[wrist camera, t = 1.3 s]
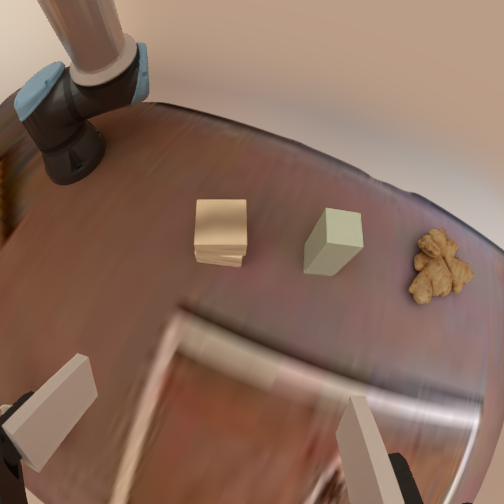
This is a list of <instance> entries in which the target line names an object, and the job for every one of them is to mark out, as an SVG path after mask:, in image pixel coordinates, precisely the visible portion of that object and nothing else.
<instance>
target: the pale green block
mask: <svg viewBox="0 0 504 504" xmlns="http://www.w3.org/2000/svg"><path fill="white" fill-rule="evenodd" d="M362 248H363V235H362V224H361V214H360V213H356V212H350V211H343V210H337V209H331V208H325V210H324V212H323V214H322V215H321V217H320V219H319V221H318V222H317V224H316V226H315V227H314V229H313V231H312V233H311V234H310V236H309V238H308V239H307V241H306V243H305V244H304V273H306V274H316V275H326V276H334V275H335V274H336V273H337V272H338V271H339V270H340V269H341V268H342V267H343V266H344V265H346V264H347V263H348V262H349V261H350V260H351V259H352V258H353V257H354V256H355V255H356V254H357V253H358V252H359V251H360V250H361V249H362Z"/></svg>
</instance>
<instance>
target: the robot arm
mask: <svg viewBox="0 0 504 504" xmlns="http://www.w3.org/2000/svg"><path fill="white" fill-rule="evenodd" d="M38 3H39V4H40V6H41V8H42V10H43V12H44V13H45V15H46V17H47V19H48V21H49V22H50V24H51V26H52V28H53V29H54V31H55V33H56V35H57V36H58V38H59V40H60V41H61V43H62V45H63V46H64V48H65V50H66V51H67V53H68V55H69V56H70V58H71V60H72V62H71V64H70V66H69V67H66V68H65V65H64V64H63V63H62V62H54V63H52V64H50V65H48V66H46V67H44V68H43V69H42V70H40V71H39V72H37V73H36V74H35V75H34V76H33V77H31V78H30V79H29V80H28V81H27V82H26V83H25V85H24V86H23V87H22V88H21V90H20V91H19V92H18V94H17V96H16V98H15V102H14V107H15V110H16V112H17V114H18V116H19V120H20V121H21V122H22V123H23V125H24V126H25V128H26V130H27V131H28V133H29V134H30V136H31V137H32V139H33V140H34V142H35V143H36V145H37V146H38V148H39V149H40V151H41V153H42V157H43V160H44V163H45V170H46V173H47V175H48V176H49V177H50V179H51V180H52V181H53V182H54V183H56V184H60V185H66V184H71V183H74V182H76V181H78V180H80V179H82V178H83V177H85V176H86V175H88V174H89V173H90V172H91V171H92V170H93V169H94V168H95V167H96V166H97V165H98V163H99V162H100V160H101V159H102V157H103V155H104V152H105V141H104V138H103V136H102V134H101V133H100V131H99V130H98V129H96V128H95V127H94V126H93V125H92V124H91V123H90V122H89V121H88V120H87V119H89V118H91V117H94V116H97V115H100V114H103V113H106V112H109V111H112V110H116V109H119V108H123V107H126V106H131V105H133V104H135V103H138V102H141V101H144V100H145V99H146V98H147V97H148V95H149V75H148V57H147V47H146V44H145V43H136V42H135V40H134V39H133V38H132V37H131V36H130V35H128V34H125V33H123V32H122V28H121V25H120V21H119V18H118V14H117V10H116V7H115V3H114V0H38ZM97 396H98V394H97V390H96V387H95V383H94V379H93V375H92V370H91V366H90V362H89V357H87V356H84V355H81V354H78V353H77V354H76V355H75V356H74V357H73V358H72V359H71V360H70V361H68V362H67V363H66V364H65V365H64V366H63V367H62V368H61V369H60V370H59V371H58V372H57V373H55V374H54V375H53V376H52V377H51V378H50V379H49V380H48V381H47V382H46V383H45V384H44V385H43V386H42V387H41V388H40V389H38V390H37V391H36V392H35V393H34V392H33V391H31V392H29V393H26V394H24V395H23V396H22V397H21V398H20V399H18V400H17V402H15V403H14V404H13V406H11V407H10V408H9V409H8V410H7V411H6V412H5V413H4V414H3V415H2V416H1V417H0V504H28V503H27V498H26V493H25V486H24V480H23V473H22V465H21V462H20V460H21V458H23V460H24V461H25V462H26V464H27V465H28V466H30V467H31V468H32V469H34V470H36V471H37V472H40V471H41V469H42V468H43V466H44V465H45V464H46V462H47V461H48V460H49V458H50V457H51V456H52V454H53V453H54V452H55V450H56V449H57V448H58V446H59V445H60V444H61V442H62V441H63V440H64V439H65V437H66V436H67V435H68V433H69V432H70V431H71V429H72V428H73V427H74V426H75V424H76V423H77V422H78V420H79V419H80V418H81V417H82V415H83V414H84V413H85V411H86V410H87V409H88V408H89V406H90V405H91V404H92V403H93V401H94V400H95V399H96V398H97ZM336 438H337V442H338V447H339V452H340V456H341V461H342V466H343V471H344V476H345V480H346V486H347V491H348V496H349V501H350V504H424V503H423V501H422V499H421V496H420V493H419V491H418V488H417V486H416V483H415V480H414V478H413V477H412V476H413V475H412V473H411V471H410V468H409V465H408V463H407V461H406V459H405V458H404V457H403V456H402V455H401V454H400V453H393V454H387V451H386V449H385V446H384V443H383V441H382V438H381V436H380V433H379V430H378V428H377V425H376V423H375V420H374V418H373V415H372V412H371V410H370V407H369V405H368V403H367V400H366V398H365V396H350V398H349V401H348V404H347V406H346V409H345V412H344V414H343V417H342V419H341V421H340V424H339V426H338V429H337V431H336ZM462 504H472V503H462Z"/></svg>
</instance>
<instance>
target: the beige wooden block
mask: <svg viewBox="0 0 504 504" xmlns="http://www.w3.org/2000/svg"><path fill="white" fill-rule="evenodd" d="M246 218H247V216H246ZM194 253H195V257H196V260H197V262H201V263H210V264H218V265H226V266H234V267H241V265H242V256H197V253H196V250H195V252H194Z"/></svg>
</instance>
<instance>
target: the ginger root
mask: <svg viewBox="0 0 504 504" xmlns="http://www.w3.org/2000/svg"><path fill="white" fill-rule="evenodd" d="M418 245H419V247H420V249H421V250H422V251H423V252H420V253H419V254H417V255H415V257H414V267H415V269H416V270H417V271H419V272H420V273H418V275H417V276H416V277H415V279H414V281H413V282H412V284H411V286H410V287H409V289H408V291H409V292H410V293H412V294H413V298H414V300H415V301H416V302H417V303H418V304H424V303H430V301H431V297H432V296H439V295H441V296H442V297H445V296H446V295H448V294H449V293H450V291H451V290H453V292H454V293H455V294H457V293H459V292H460V291H461V289H462V287H463V284H467V282H468V281H469V280H471V279H472V278H473V276H474V273H473V272H472V270H471V268H470V267H469V264H468V263H466V262H464V261H462V260H460V259H458V257H457V258H456V251H457V250H458V249H459V247H458V245H457V243H456V242H455V241H454V240H452V239H450V238H449V237H448V236H446V235H445V229H444V228H441V229H439V230H437V229H431V230H430V231H429V232H428V234H427V235H425V236H423V237H422V239H419V241H418Z"/></svg>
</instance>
